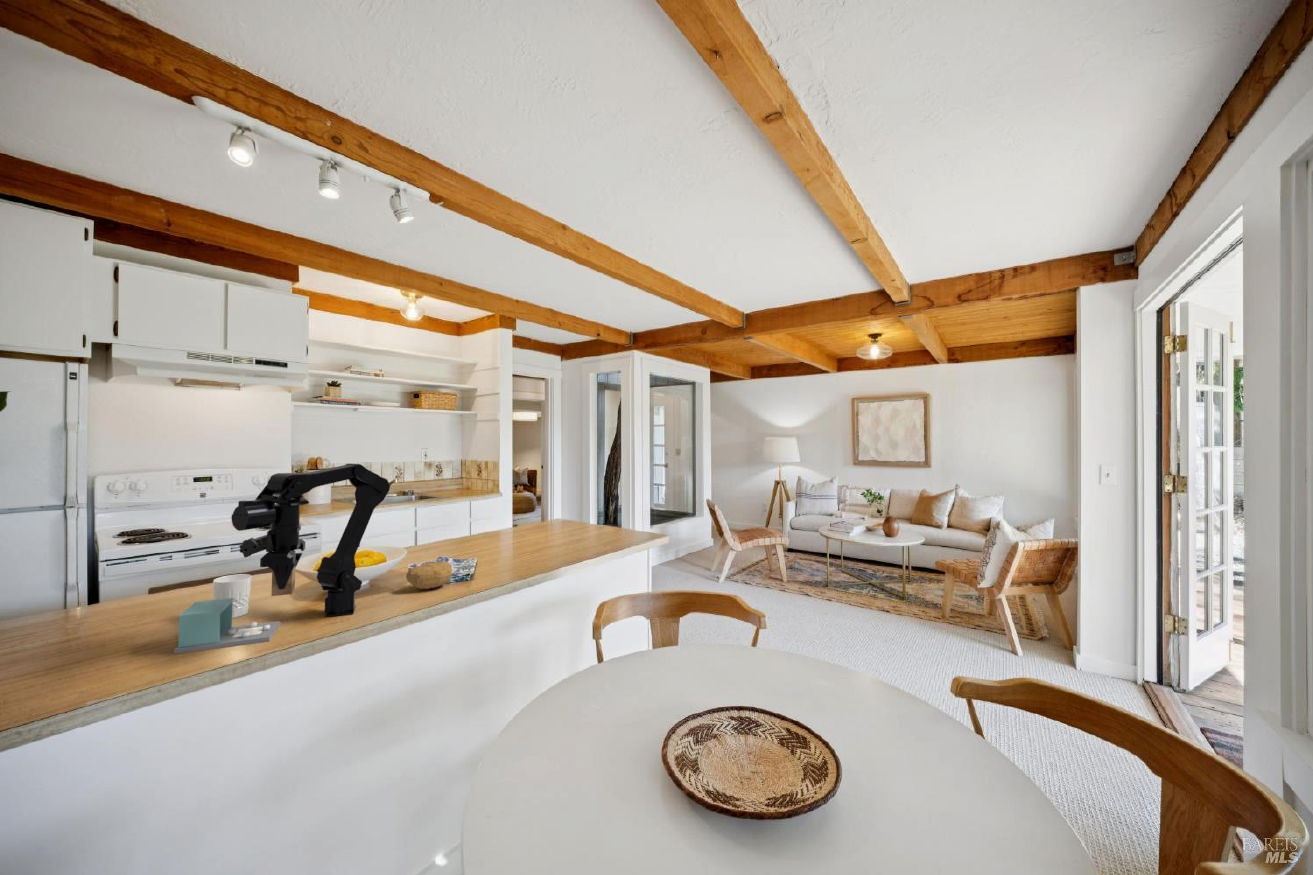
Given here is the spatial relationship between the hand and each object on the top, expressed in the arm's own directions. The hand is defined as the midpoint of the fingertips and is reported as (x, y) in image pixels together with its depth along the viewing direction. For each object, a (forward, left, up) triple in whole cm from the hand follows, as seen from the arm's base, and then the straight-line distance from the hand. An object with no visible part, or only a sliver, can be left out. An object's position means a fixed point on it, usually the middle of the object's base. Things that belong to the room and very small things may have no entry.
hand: (283, 586), depth 122 cm
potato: (-34, -25, -12) cm, 44 cm away
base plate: (+10, -1, -12) cm, 15 cm away
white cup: (+15, -20, -12) cm, 27 cm away
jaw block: (0, 0, -2) cm, 2 cm away
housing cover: (+15, -1, -11) cm, 18 cm away
